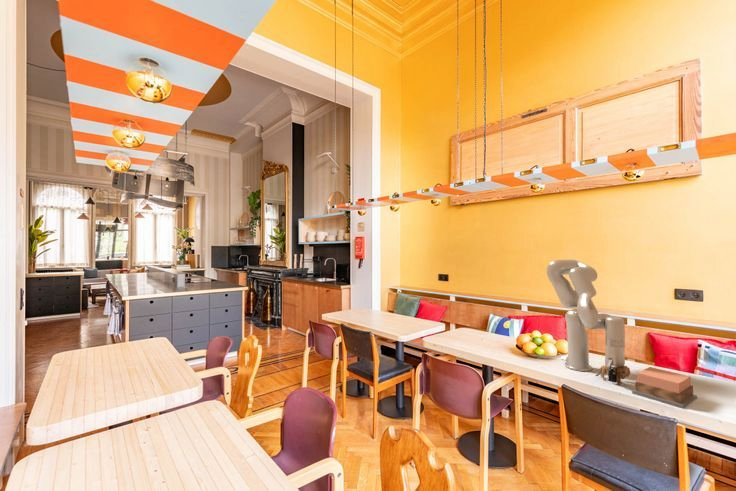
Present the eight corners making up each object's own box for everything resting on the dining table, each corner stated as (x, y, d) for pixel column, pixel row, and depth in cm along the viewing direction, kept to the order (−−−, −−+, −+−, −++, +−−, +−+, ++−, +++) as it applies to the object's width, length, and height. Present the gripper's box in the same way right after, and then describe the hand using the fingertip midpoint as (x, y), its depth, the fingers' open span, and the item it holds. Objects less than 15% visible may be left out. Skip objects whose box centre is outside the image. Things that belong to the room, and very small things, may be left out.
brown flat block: (635, 390, 147) (635, 381, 147) (649, 383, 155) (649, 374, 155) (680, 404, 134) (680, 394, 134) (693, 395, 142) (692, 385, 142)
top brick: (637, 381, 147) (637, 372, 147) (650, 375, 154) (650, 366, 154) (679, 393, 135) (678, 383, 135) (691, 385, 142) (690, 376, 142)
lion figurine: (632, 385, 156) (632, 366, 156) (628, 387, 153) (627, 368, 153) (597, 375, 168) (597, 357, 168) (592, 377, 165) (592, 359, 165)
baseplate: (632, 393, 147) (632, 390, 147) (647, 384, 156) (647, 382, 156) (683, 408, 133) (683, 405, 133) (697, 398, 141) (697, 395, 141)
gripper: (614, 338, 168) (615, 374, 167) (597, 343, 159) (598, 381, 158) (632, 341, 161) (633, 378, 161) (615, 347, 152) (616, 386, 152)
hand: (616, 379), depth 160 cm, fingers open, 6 cm apart
